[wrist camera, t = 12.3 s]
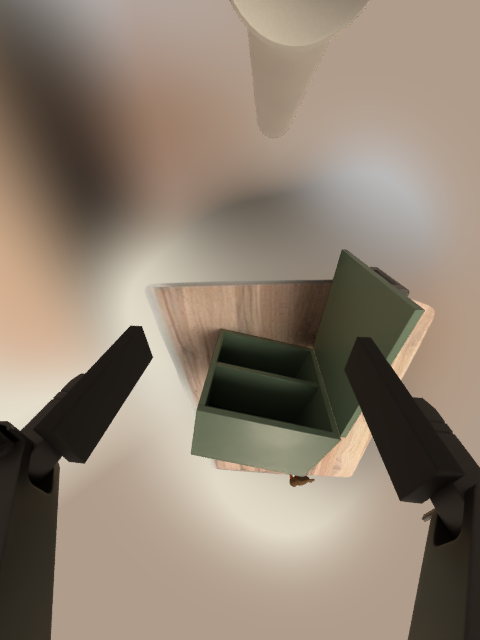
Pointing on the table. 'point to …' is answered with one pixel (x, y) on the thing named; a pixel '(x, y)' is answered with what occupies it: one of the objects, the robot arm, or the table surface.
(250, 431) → the cupboard
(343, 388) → the door
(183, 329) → the table surface
